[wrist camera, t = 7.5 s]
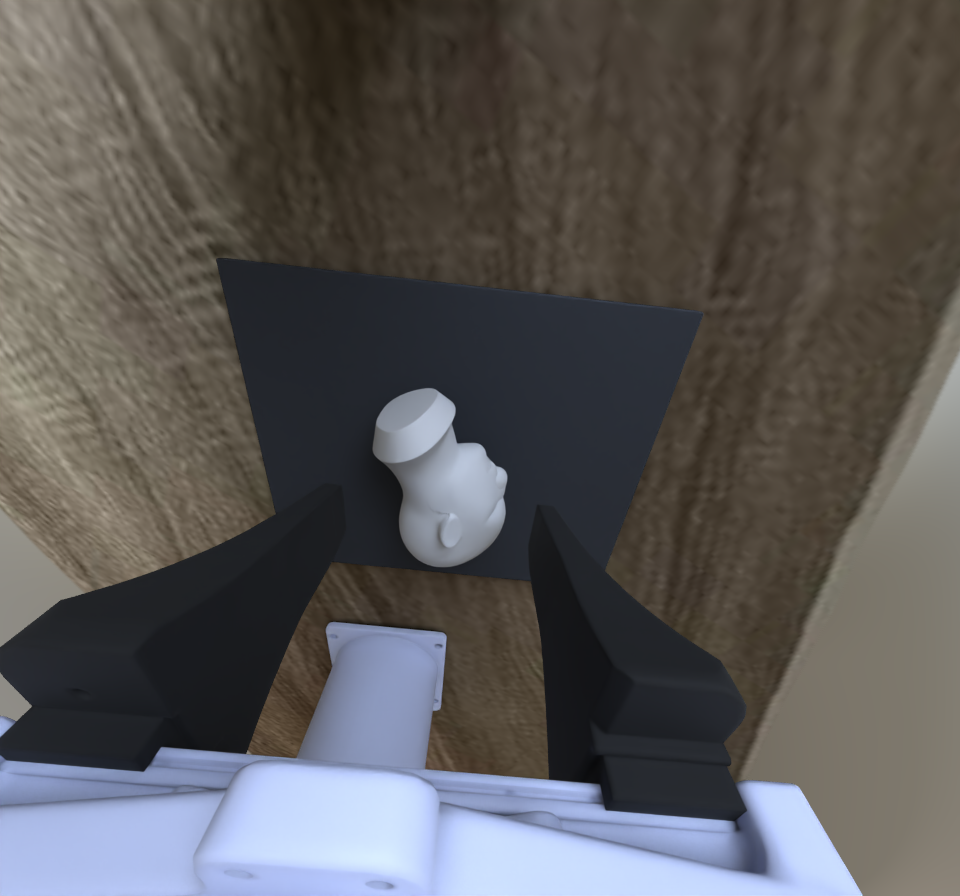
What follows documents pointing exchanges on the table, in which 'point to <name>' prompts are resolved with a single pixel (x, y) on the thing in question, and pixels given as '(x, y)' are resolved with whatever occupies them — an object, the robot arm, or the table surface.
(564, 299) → the mat
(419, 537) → the smooth white sculpture
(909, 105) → the table surface
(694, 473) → the table surface
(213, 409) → the table surface
